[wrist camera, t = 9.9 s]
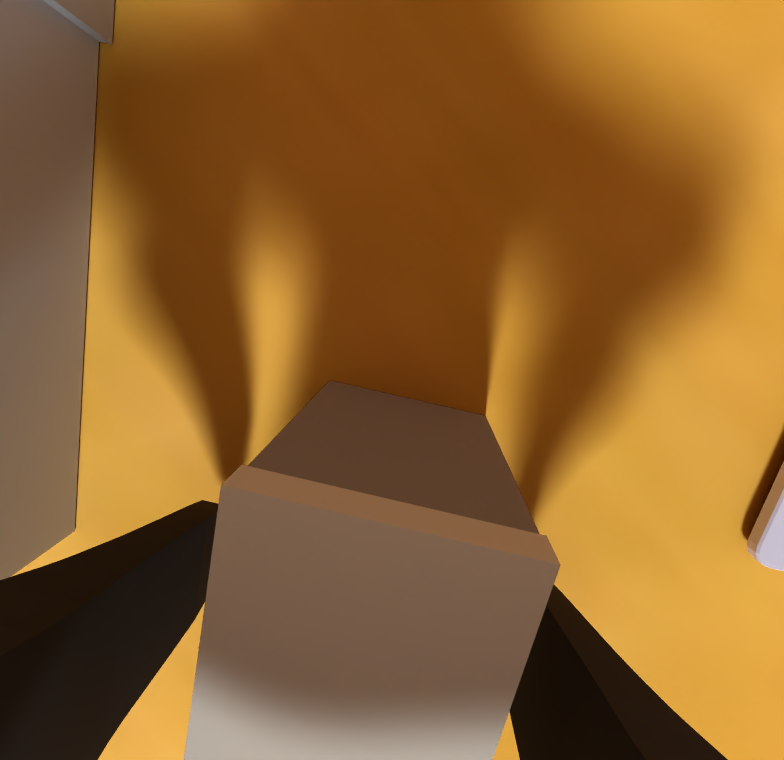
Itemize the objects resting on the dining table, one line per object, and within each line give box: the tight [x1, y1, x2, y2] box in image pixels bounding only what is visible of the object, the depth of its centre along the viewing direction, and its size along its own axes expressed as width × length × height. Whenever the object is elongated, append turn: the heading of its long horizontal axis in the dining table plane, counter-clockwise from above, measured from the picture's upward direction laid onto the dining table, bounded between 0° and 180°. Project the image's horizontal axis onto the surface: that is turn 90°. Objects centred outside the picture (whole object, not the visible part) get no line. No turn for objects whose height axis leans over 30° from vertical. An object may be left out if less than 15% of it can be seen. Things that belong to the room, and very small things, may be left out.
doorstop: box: [184, 380, 560, 760], centre depth 9 cm, size 4×8×6 cm, turn 168°
